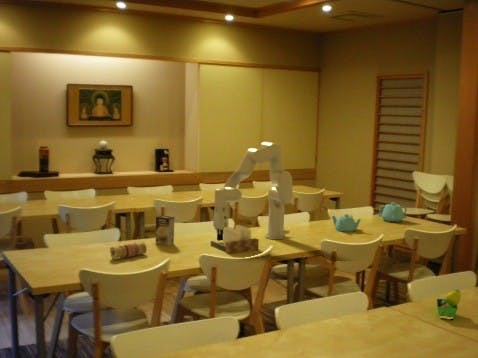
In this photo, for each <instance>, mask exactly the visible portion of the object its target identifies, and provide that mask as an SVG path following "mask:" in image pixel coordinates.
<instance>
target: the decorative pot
mask: <svg viewBox="0 0 478 358" xmlns="http://www.w3.org/2000/svg"><path fill="white" fill-rule="evenodd" d="M390 203H391V204H385V205H384V204H382V205H379V212H378V217H380V218H382V220H383V221H386V223H387V222H388V223H390V222H395V223H400V222H402V221H403V220H404V219H406V218H407V216H408V215H407V214H406V212H407V210H408V209H407V207H406V206H404V205H403V206H401V205H400V204H396V203H397V202H390ZM382 207H383V208H382ZM403 209H404V210H403ZM403 211H404V212H403Z"/></svg>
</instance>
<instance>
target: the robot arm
mask: <svg viewBox="0 0 478 358" xmlns="http://www.w3.org/2000/svg"><path fill="white" fill-rule="evenodd" d="M282 152H283V148H282V146H281V145H280V143H278V142H272V141H263V142H261V144H260V145H259V148H254V147H252V148H251V147H250V148H247V150H246V151H245V154H244V156H243V158H242V159H241V162H240V163H239V165H238V167H237V169H236V170H235V171H234V172H233V173H232V174H231V175H230V176H229V178H228V179H227V180H226V181H225V184H224V186H223V187H217V188H215V190H214V206H213V207H214V211H213V212H214V213H213V218H212V219H213V220H212V221H213V224H212V226H213V227H214V229H215V230H216V241H217V242H219V241H220V242H221V241H223V229H224V227H229V213H228V201H230V202H237V201H239V200H241V198H242V197H243V194H242V191H241V190H240V189H239V188H237V187H238V185H239V184H240V183H241V182H242V181H243V180H245V179H248V178H249V177H250V176H251V175H252V173H253V171H254V168H255V167H256V165H257V164H264V163H266V162H268V164H269V180H270V182H271V184H273V185H275V186H272V187H271V188H269V190H268V192H267V200H268V221H267V222H268V223H267V224H268V225H267V233H266V234H265V238H266V239H268V240H284V239H286V237H287V236H286V235H288V234H290V233H291V232H290V230H285V229H284V227H285V225H284V224H285V205H289V204H290V203H291V202H292V199H293V192H294V191H293V177H292V175H291V173H290V172H289V171H287V170H285V169H284V167H285V166H284V159H283V155H282ZM276 185H277V186H276Z"/></svg>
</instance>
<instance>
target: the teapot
mask: <svg viewBox="0 0 478 358" xmlns="http://www.w3.org/2000/svg"><path fill="white" fill-rule="evenodd" d="M331 217H332V222H333V224H334V225H333V226H335V229H336V230H337V231H338V232H343V233H352V232H355V231H356V230H357V229H358V226H359V224H360V222H361V221H362V219H360V218H358V219H357V220H356V221H355V219H354V217H353V215H351V214H347V213H345V214H344V215H340V216H339V217H338V219H337V218H336V216H335V215H332V216H331Z"/></svg>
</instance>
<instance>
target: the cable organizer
mask: <svg viewBox="0 0 478 358" xmlns="http://www.w3.org/2000/svg"><path fill="white" fill-rule="evenodd" d="M246 239H252V229H251V228H249V227H246V226H244V225H240V224H237V225H235V227H234V228H233V227H230V226H228V227H224V229H223V240H222V245H224V246H226V242H229V241H239V240H246Z"/></svg>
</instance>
